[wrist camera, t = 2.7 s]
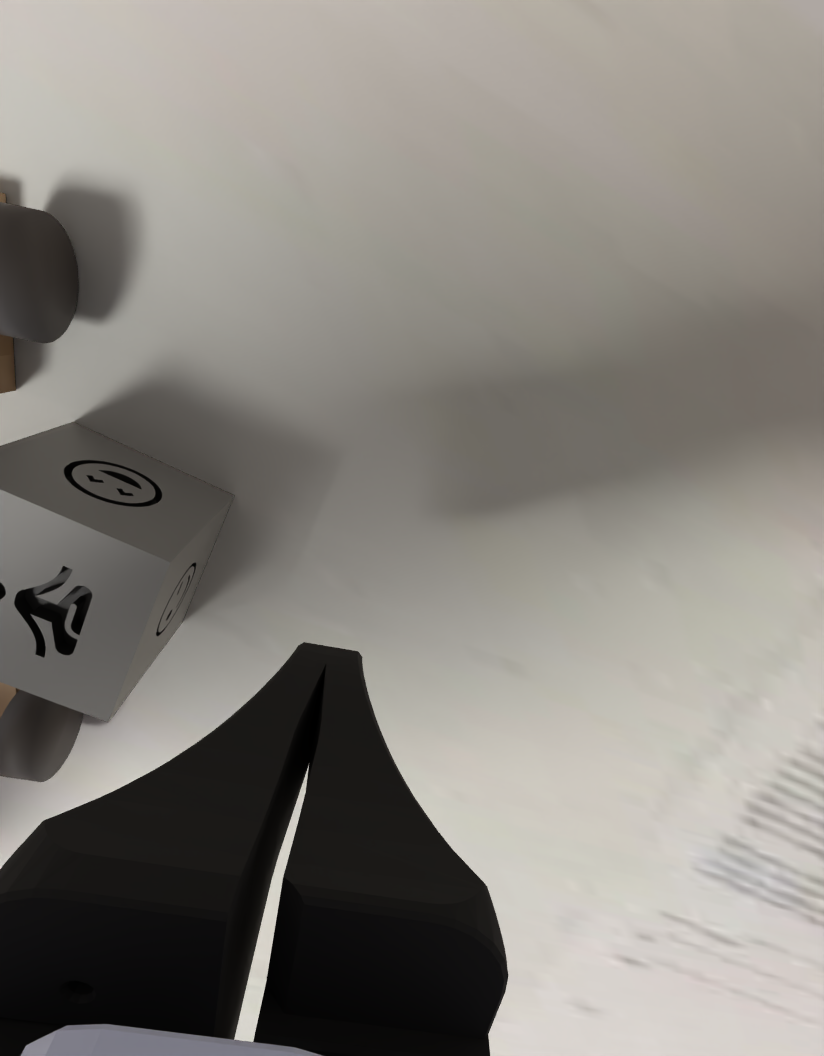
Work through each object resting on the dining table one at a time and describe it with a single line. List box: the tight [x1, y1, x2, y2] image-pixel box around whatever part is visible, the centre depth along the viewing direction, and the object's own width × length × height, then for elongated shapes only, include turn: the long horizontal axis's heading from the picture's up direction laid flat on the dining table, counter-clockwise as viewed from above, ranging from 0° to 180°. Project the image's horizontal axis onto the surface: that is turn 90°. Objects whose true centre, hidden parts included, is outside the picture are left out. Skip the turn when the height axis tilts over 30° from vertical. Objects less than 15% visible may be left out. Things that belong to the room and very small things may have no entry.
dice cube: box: [0, 422, 234, 722], centre depth 16 cm, size 5×5×5 cm
